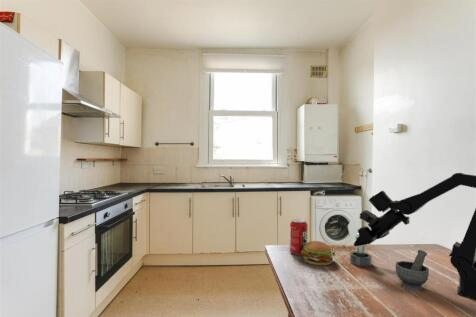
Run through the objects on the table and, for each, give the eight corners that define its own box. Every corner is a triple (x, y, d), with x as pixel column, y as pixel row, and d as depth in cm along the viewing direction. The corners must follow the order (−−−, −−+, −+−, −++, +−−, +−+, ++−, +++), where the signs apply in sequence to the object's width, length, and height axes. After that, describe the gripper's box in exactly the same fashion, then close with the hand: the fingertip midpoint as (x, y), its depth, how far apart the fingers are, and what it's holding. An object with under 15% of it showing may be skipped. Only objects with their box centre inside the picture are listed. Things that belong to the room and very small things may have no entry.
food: (331, 270, 106) (332, 249, 106) (296, 262, 114) (297, 243, 114) (339, 259, 118) (339, 241, 118) (307, 253, 125) (307, 236, 125)
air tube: (365, 265, 112) (366, 235, 112) (355, 263, 113) (355, 233, 113) (366, 262, 115) (366, 232, 115) (355, 260, 117) (356, 231, 117)
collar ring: (368, 268, 109) (368, 259, 109) (347, 263, 114) (347, 254, 114) (373, 262, 115) (373, 254, 115) (353, 258, 120) (353, 250, 120)
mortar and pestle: (414, 295, 87) (414, 257, 87) (388, 282, 96) (389, 248, 96) (438, 290, 91) (438, 253, 91) (411, 278, 100) (412, 245, 100)
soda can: (286, 251, 128) (287, 218, 128) (301, 249, 130) (302, 218, 130) (294, 256, 120) (295, 222, 120) (310, 255, 123) (311, 221, 123)
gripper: (381, 202, 117) (355, 223, 125) (363, 207, 105) (335, 230, 113) (402, 224, 112) (373, 245, 120) (385, 232, 99) (354, 254, 107)
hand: (359, 243), depth 115 cm, fingers open, 9 cm apart
